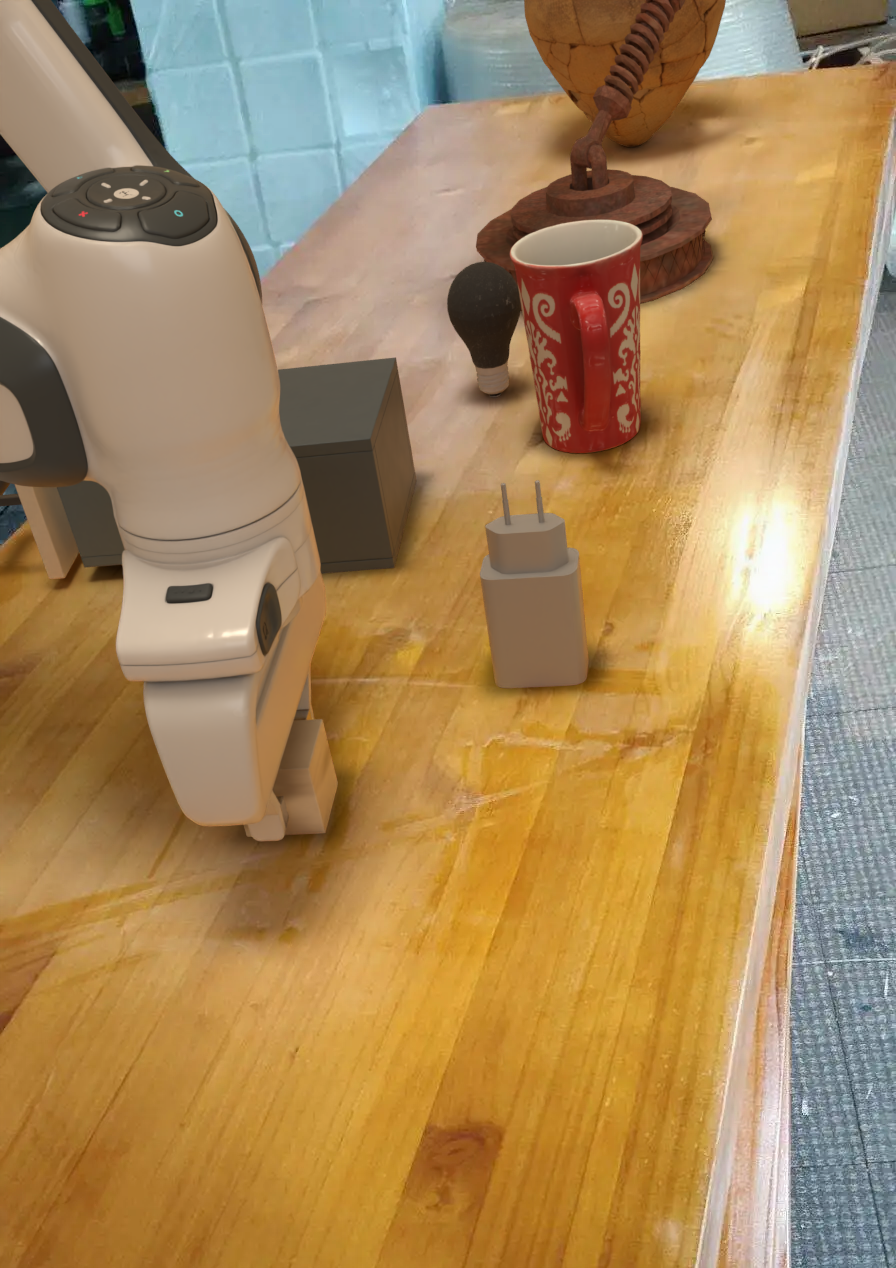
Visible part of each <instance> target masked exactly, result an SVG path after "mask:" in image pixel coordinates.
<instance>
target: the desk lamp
mask: <svg viewBox="0 0 896 1268" xmlns="http://www.w3.org/2000/svg"><path fill="white" fill-rule="evenodd" d="M685 1H686V0H646V1H645V2H646V3H642V4H641V6H640V13H639V14H637V15H636V19H635V21H636V24H633V25H631V26H630V30H631V33H629V34H628V35H627V36H626V37H625V43H626V44H622V45H621V46H620V48H619V49H620V54H621V55H617V56H615V63H616V65H612V66H610V73H611V75H607V76H606V77H605V79H604V81H605V85H603V86H601V87H598V88H597V90H596V92H595V94H594V96H593V99H594V102H595V105H596V107H597V109H598V111H599V112H598V114H597V116H596V118H595V120H594V122H593V124H592V123H591V126H590V128H589V130H588V132H587V134H586V135H585V136H582V137H580V138H577V139H576V140H575V142H574V143H573V145H572V147H571V150H570V153H569V161H570V162H569V163H570V174H567V175H565V176H562V177H560V178H559V177H558V178H557V179H556V180H554V181H552V182H550V183H549V184H548V185H547V186H546V187H543V188H540V189H537V190H535V191H533V192H531V193H529V194H528V195H526V196H524V197H523V198H520V199H519V200H518V201H517V202H516V203H515V204H514V205H513V207H512V208H511V209H508V210H506V211H505V212H503V213H501V214H499V215H498V216H496V217H495V218H493V219H491V220H489V222H487V224H485V226H484V227H482V229H480V230H479V232H478V233H477V235H476V243H475V249H476V252H477V253H478V254H479V255H480V256H481V257H482V259H483V262H491V263H495V264H497V265H499V266H501V267H503V268H504V269H505V270H506V271H508V272H509V273H510V274H511V276H512V277H513V278H514V280H515V281H516V283H517V277H516V271H515V266H514V264H513V262H512V260H511V258H510V250H511V248H512V246H513V245H514V244H515V243H516V242H517V241H519V240H520V239H521V238H523V237H525V236H527V235H529V234H531V233H533V232H535V231H538V230H541V229H544V228H547V227H551V226H555V225H559V224H563V223H569V222H576V221H584V220H615V221H622V222H626V223H630V224H632V225H634V226H636V227H638V228H639V229H640V230H641V232H642V234H643V239H642V243H641V247H640V305H641V304H645V303H649V302H653V301H655V300H658V299H660V298H664V297H666V296H668V295H670V294H672V293H675V292H678V291H680V290H682V289H684V288H685V287H687V286H689V285H690V284H692V283H693V282H694V281H696V280H697V279H699V278H701V277H702V276H703V275H704V274H705V273H706V271H707V269H708V268H709V267H710V265H711V264H712V262H713V260H714V257H713V252H712V247H711V245H710V243H709V242H707V241H706V229H707V228H708V226H709V225H710V223H711V221H712V220H713V216H712V212H711V206H710V203H709V202H708V201H707V200H705V199H704V198H703V197H701V196H700V195H698V194H697V193H695V192H692V191H688V190H686V189H685V190H684V189H681V188H677V187H675V186H670V185H668V184H667V183H666V182H665V181H663V180H661V179H658V178H654V177H650V176H647V175H638V174H637V175H636V174H631V173H630V172H628V171H623V170H619V169H611V168H608V163H607V162H608V161H607V159H608V158H607V155H606V152H605V150H604V148H603V141H604V139H605V137H606V136H605V134H606V132H607V130H608V128H609V126H610V124H611V122H612V121H614V120H621V119H624V118H627V116H628V114H629V112H630V110H631V104H632V100H633V95H634V94H636V93H637V92H638V90H639V89H638V85H640V84H641V83H642V82H643V80H644V78H643V75H645V74H646V72H647V71H648V67H649V64H650V63H651V62H652V61H653V60H654V54H655V53H656V52H657V51H658V50H659V43H661V42H662V41H663V40H664V33H665V32H667V31H668V30H669V25H670V23H671V22H673V19H674V15H675V13H676V12H677V11H678V10H680V9H681V8H682V6H683V4H684V3H685ZM645 55H646V57H645ZM639 66H641V67H639ZM634 76H635V77H636V78H635V77H634ZM629 86H631V88H630V87H629ZM625 96H626V97H625ZM587 169H591V170H587ZM517 286H518V283H517ZM520 312H522V308H521V311H520Z"/></svg>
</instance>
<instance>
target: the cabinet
mask: <svg viewBox="0 0 896 1268" xmlns="http://www.w3.org/2000/svg"><path fill="white" fill-rule="evenodd" d="M398 368H399V367H398V362H397V357H385V358H376V359H367V360H357V361H348V362H347V361H346V362H338V363H329V364H319V365H309V366H300V367H299V366H298V367H290V368H289V367H288V368H281V369H279V368H278V373H279V379H280V403H279V414H280V422H281V427H282V431H283V433H284V436H285V439H286V441H287V443H288V445H289V446H290V448H291V450H292V451H293V453H294V455H295V457H296V459H297V462H298V465H299V468H300V472H301V477H302V482H303V485H304V490H305V494H306V499H307V503H308V507H309V512H310V516H311V522H312V526H313V530H314V535H315V539H316V544H317V548H318V552H319V557H320V563H321V567H320V570H321V574H322V575H323V574H334V573H336V574H337V573H347V572H348V573H349V572H360V571H373V570H384V569H385V570H386V569H394V568H396V563H397V559H398V556H399V551H400V549H401V548H400V547H401V544H402V540H403V535H404V532H405V528H406V523H407V521H408V520H407V519H408V516H409V512H410V508H411V504H412V501H413V496H414V493H415V488H416V485H417V476H416V475H417V474H416V470H415V469H416V468H415V463H414V456H413V452H412V451H413V450H412V445H411V439H410V434H409V433H410V432H409V427H408V421H407V415H406V408H405V403H404V397H403V390H402V385H401V379H400V374H399V373H400V372H399V369H398Z"/></svg>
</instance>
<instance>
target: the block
mask: <svg viewBox="0 0 896 1268" xmlns="http://www.w3.org/2000/svg"><path fill="white" fill-rule="evenodd" d="M338 785H339V782H338V778H337V773H336V770H335V765H334V761H333V756H332V753H331V748H330V744H329V740H328V737H327V732H326V728H325V723H324V719H323V718H317V719H316V718H315V719H314V720H297V721H293V724H292V727H291V730H290V734H289V737H288V740H287V743H286V747H285V750H284V753H283V756H282V760H281V763H280V766H279V770H278V773H277V776H276V780H275V783H274V786H273V789H272V790H273V792H274V794H275V796H284V800H285V804H286V810H287V812H288V815H289V820H288V824H287V828H286V831H285V835H284V836H292V835H293V836H295V835H296V836H297V835H315V834H316V835H317V834H326V832H327V828H328V825H329V820H330V817H331V813H332V809H333V806H334V801H335V798H336V793H337V789H338ZM242 826H243V828H244V833H245V836H246V837H247V838H249V837H251V838H253V837H252V836H251V834H250V831H249V828H248V824H246V825H242Z"/></svg>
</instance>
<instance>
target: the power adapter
mask: <svg viewBox="0 0 896 1268" xmlns="http://www.w3.org/2000/svg"><path fill="white" fill-rule="evenodd" d="M534 488H535V496H536V497H535V502H536V510H537V511H536V513H524V514H511V513H510V503H509V499H508V493H507V485H506V483H505V482H501V483H500V489H501V498H502V502H501V503H502V509H503V515H502V516H499V517H497V518H495V519H493V520H492V521H489V522H488V523H486V524H485V526H484V527H485V535H486V542H487V550H488V554H487V555H485V556H484V557H483V559H482V563H481V567H480V571H479V579H480V586H481V593H482V601H483V608H484V613H485V620H486V628H487V635H488V642H489V649H490V656H491V664H492V671H493V678H494V684H495V686H496V687H498V688H501V689H520V688H522V689H524V688H539V687H540V688H543V687H564V686H566V687H567V686H569V687H570V686H577V685H580V684H582V683H584V682H586V680H587V678H588V671H589V661H590V660H589V651H588V639H587V638H588V637H587V627H586V616H585V615H586V614H585V605H584V603H585V602H584V593H583V582H582V573H581V571H582V570H581V559H580V551H579V550H578V549H577V548H574V547H568V541H567V540H568V539H567V529H566V519H564V518H563V517H561V516H559V515H557V514H555V513H553V512H544V503H543V497H542V491H541V489H542V488H541V482H540V480H539V479H537V480H535V481H534Z"/></svg>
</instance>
